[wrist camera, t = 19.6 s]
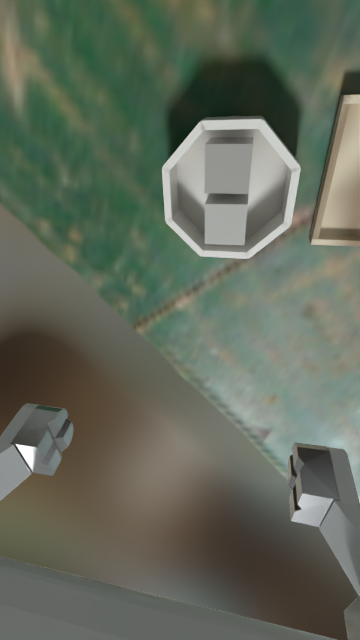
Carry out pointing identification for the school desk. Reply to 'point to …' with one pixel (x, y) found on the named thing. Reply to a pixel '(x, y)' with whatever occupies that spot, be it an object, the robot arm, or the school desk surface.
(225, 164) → the grey rectangular block
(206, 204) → the grey cube
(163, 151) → the school desk surface
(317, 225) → the tray
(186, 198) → the bowl
